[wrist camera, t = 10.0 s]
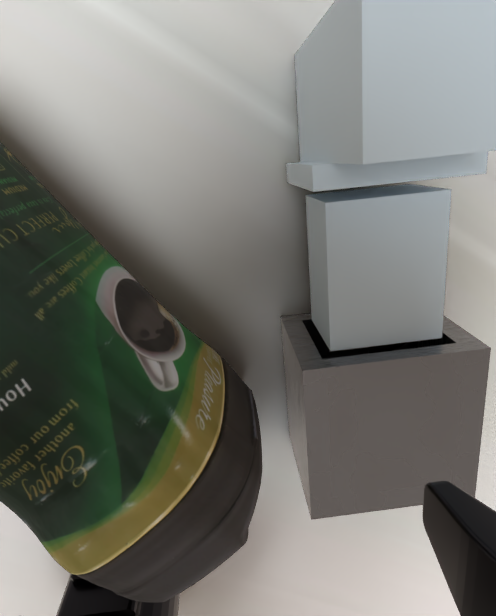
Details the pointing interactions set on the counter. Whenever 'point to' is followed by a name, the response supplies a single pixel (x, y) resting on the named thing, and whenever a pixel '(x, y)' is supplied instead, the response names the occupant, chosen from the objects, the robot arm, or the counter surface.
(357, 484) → the housing
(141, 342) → the coffee jar
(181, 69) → the counter surface
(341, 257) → the end cover
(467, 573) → the robot arm
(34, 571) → the counter surface
